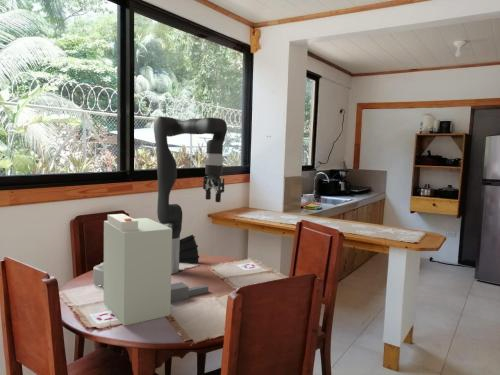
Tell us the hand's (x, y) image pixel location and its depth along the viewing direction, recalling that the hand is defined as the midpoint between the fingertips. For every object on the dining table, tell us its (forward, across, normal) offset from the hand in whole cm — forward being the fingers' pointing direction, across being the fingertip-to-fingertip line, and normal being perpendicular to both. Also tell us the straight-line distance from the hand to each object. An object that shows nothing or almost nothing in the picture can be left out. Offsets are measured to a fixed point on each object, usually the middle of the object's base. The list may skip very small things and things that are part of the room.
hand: (212, 200), depth 173 cm
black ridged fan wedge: (+38, -36, +6) cm, 53 cm away
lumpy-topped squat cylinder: (+38, -24, -38) cm, 59 cm away
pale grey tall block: (+38, +9, -38) cm, 54 cm away
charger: (+38, +7, -15) cm, 42 cm away
